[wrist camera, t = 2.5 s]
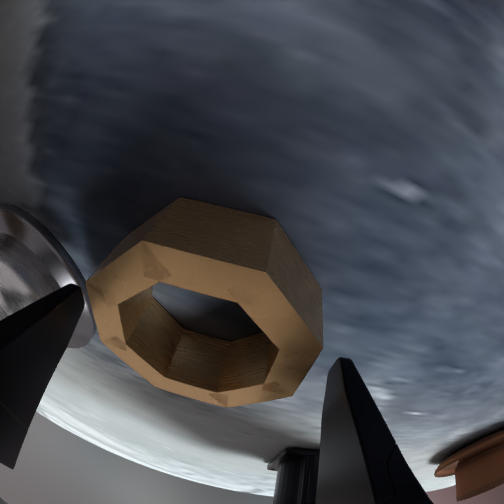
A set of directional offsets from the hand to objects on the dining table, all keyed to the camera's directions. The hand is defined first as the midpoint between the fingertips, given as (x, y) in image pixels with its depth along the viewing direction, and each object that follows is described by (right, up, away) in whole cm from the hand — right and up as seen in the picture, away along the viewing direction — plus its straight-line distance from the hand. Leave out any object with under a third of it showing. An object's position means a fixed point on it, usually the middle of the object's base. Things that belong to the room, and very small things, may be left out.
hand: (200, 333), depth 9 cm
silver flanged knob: (-10, +1, +3) cm, 11 cm away
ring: (0, +1, +1) cm, 2 cm away
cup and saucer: (+26, -18, +10) cm, 33 cm away
